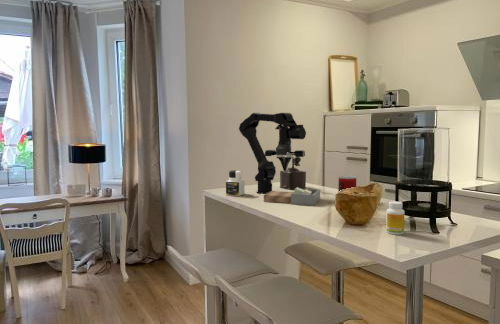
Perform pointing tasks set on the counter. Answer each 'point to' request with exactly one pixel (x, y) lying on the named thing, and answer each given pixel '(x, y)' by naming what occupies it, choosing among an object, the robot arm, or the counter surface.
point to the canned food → (346, 182)
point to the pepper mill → (293, 176)
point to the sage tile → (298, 191)
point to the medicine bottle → (235, 184)
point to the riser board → (278, 197)
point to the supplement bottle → (395, 218)
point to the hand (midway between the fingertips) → (284, 171)
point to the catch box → (306, 198)
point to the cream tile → (307, 192)
